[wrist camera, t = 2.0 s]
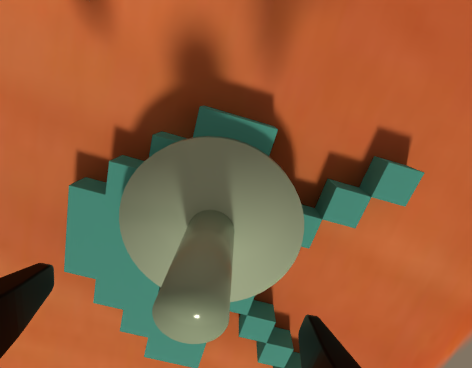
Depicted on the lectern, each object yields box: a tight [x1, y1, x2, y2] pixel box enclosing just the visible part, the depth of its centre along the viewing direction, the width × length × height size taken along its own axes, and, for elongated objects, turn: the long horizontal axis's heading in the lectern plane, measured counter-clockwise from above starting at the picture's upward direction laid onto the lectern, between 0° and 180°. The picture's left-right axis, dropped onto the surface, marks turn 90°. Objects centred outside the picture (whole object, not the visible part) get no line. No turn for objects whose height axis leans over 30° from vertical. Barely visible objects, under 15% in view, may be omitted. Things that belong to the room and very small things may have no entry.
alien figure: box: [64, 106, 424, 368], centre depth 18 cm, size 20×2×20 cm
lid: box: [119, 136, 304, 344], centre depth 12 cm, size 11×11×7 cm
